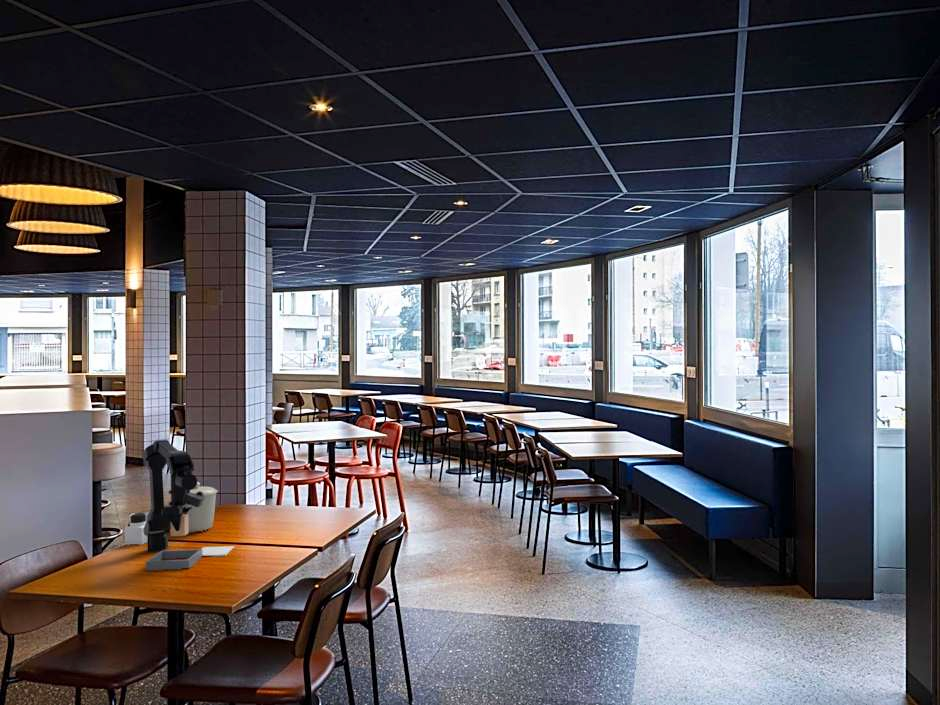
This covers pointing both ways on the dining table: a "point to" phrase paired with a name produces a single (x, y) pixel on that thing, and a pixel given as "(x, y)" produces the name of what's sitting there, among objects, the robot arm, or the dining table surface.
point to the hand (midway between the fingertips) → (179, 529)
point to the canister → (202, 510)
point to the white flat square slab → (216, 551)
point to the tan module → (181, 527)
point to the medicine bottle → (136, 529)
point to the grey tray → (161, 564)
